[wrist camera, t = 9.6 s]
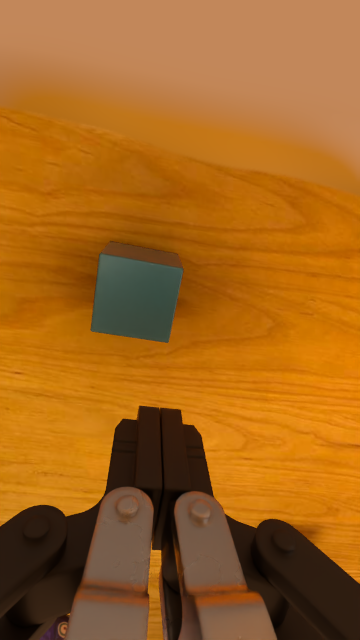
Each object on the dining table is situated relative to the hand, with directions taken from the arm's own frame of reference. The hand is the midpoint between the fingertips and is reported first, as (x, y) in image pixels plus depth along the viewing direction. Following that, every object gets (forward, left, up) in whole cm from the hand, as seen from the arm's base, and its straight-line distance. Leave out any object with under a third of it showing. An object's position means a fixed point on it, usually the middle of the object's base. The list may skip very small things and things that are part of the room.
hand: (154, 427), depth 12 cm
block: (0, -2, -12) cm, 12 cm away
